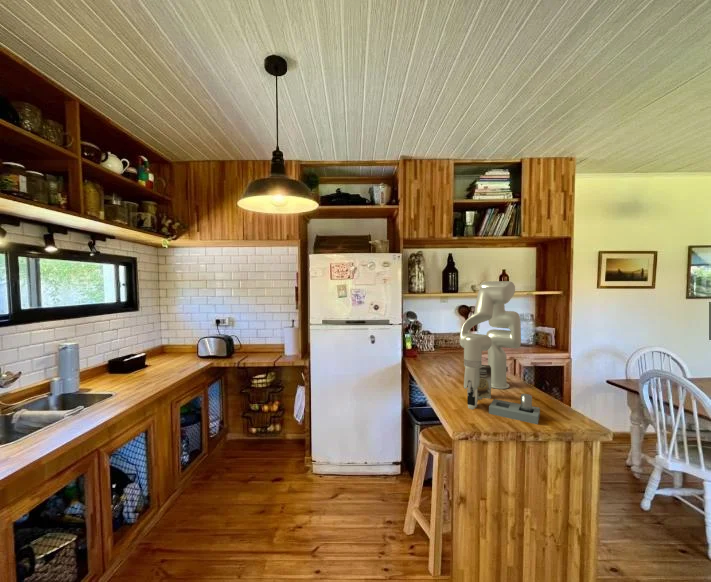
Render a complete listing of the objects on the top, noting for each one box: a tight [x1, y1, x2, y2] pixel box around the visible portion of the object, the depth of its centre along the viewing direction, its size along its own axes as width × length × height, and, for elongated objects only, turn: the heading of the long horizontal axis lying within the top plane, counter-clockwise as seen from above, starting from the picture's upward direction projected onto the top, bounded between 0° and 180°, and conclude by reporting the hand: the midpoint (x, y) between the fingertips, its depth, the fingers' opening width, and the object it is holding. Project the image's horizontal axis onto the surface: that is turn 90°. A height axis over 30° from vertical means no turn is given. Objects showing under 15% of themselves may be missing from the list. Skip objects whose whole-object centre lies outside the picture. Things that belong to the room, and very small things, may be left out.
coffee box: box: [477, 364, 492, 400], centre depth 151 cm, size 9×6×16 cm
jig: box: [488, 398, 541, 425], centre depth 129 cm, size 11×18×4 cm, turn 55°
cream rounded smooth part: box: [467, 388, 478, 410], centre depth 138 cm, size 4×4×9 cm
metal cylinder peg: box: [520, 393, 533, 413], centre depth 126 cm, size 4×4×9 cm
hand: (472, 402), depth 138 cm, fingers closed on cream rounded smooth part, 4 cm apart
